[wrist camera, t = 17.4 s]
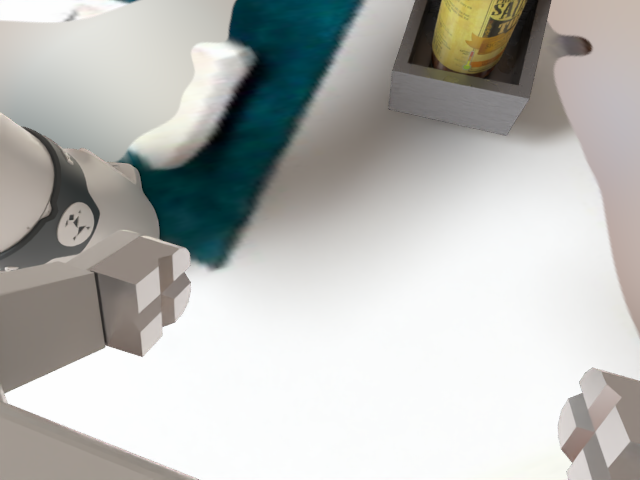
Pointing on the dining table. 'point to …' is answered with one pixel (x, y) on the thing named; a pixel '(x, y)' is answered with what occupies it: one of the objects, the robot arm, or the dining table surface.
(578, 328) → the dining table surface
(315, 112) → the dining table surface
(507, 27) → the sauce bottle
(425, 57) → the open rectangular box
